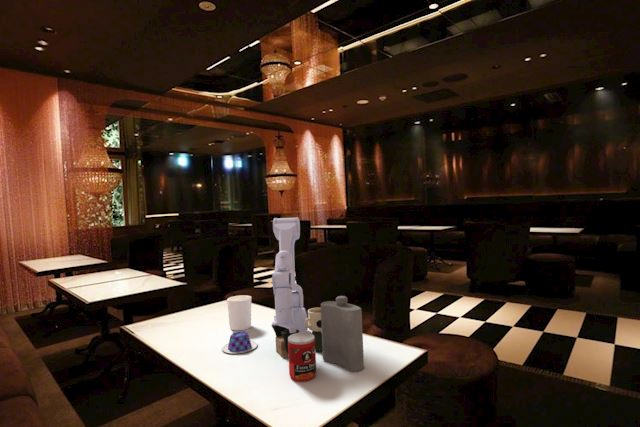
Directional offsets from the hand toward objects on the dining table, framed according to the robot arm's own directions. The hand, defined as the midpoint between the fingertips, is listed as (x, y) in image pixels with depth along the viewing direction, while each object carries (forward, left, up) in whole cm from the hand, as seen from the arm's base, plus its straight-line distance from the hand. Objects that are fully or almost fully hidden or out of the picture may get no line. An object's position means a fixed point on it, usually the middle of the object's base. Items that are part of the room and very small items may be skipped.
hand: (285, 348), depth 119 cm
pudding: (+12, -13, -2) cm, 18 cm away
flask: (-12, +17, -2) cm, 21 cm away
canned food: (+2, +18, -2) cm, 18 cm away
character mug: (-11, +3, -2) cm, 12 cm away
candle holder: (+6, -35, -2) cm, 36 cm away
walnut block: (0, 0, -2) cm, 2 cm away
